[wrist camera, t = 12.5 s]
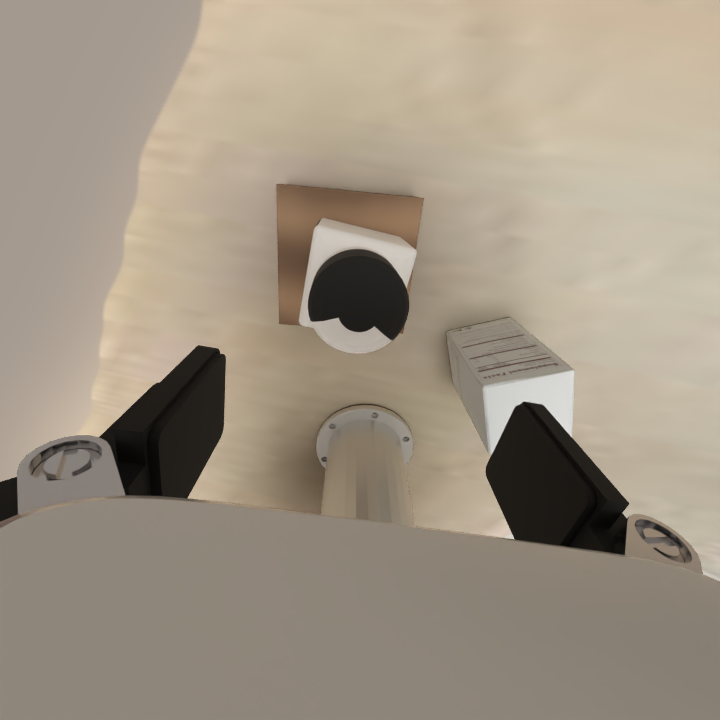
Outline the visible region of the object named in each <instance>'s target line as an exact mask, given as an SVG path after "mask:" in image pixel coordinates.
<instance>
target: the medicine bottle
mask: <svg viewBox="0 0 720 720" xmlns="http://www.w3.org/2000/svg"><path fill="white" fill-rule="evenodd" d="M416 255H417V251H416V249H414V248H413V247H412V246H411V245H409V244H408V243H407V242H406V241H404V240H403V239H402V238H401V237H399V236H395V235H391V234H387V233H383V232H379V231H375V230H371V229H367V228H363V227H359V226H355V225H351V224H347V223H343V222H339V221H335V220H331V219H327V218H321V219H320V220H319V222H318V223H317V225H316V226H315V228H314V232H313V238H312V244H311V250H310V256H309V262H308V268H307V274H306V280H305V286H304V292H303V298H302V304H301V310H300V316H299V323H300V325H302V326H306V327H311V328H314V330H315V331H316V333H317V334H318V335H319V337H320V338H321V339H322V340H323V341H324V342H326V343H327V344H328V345H330V346H331V347H333V348H335V349H337V350H340V351H343V352H347V353H354V354H363V353H369V352H373V351H376V350H378V349H380V348H382V347H384V346H386V345H387V344H389V343H390V342H391V341H393V340H394V339H395V338H396V336H397V335H398V334H399V333H400V331H401V330H402V328H403V326H404V325H405V322H406V319H407V316H408V312H409V297H408V292H407V286H408V282H409V279H410V276H411V272H412V269H413V266H414V262H415V259H416Z"/></svg>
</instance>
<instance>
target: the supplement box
mask: <svg viewBox="0 0 720 720" xmlns="http://www.w3.org/2000/svg"><path fill="white" fill-rule="evenodd" d="M446 336H447V345H448V352H449V359H450V366H451V373H452V379H453V385H454V386H455V388H456V390H457V392H458V394H459V396H460V398H461V400H462V402H463V404H464V406H465V408H466V410H467V412H468V414H469V416H470V418H471V420H472V422H473V424H474V426H475V428H476V430H477V432H478V434H479V436H480V438H481V440H482V442H483V444H484V446H485V447H486V449H487V451H488V453H489V454H492V453H493V451H494V449H495V447H496V445H497V443H498V441H499V439H500V437H501V435H502V433H503V430H504V428H505V426H506V424H507V422H508V420H509V418H510V416H511V414H512V412H513V410H514V408H515V406H517V405H520V404H521V403H522V402H531V403H537V404H542V405H544V406H545V407H546V408H547V410H548V411H549V412H550V413H551V414H552V415H553V416H554V418H555V419H556V420H557V421H558V422H559V423H560V424H561V426H562V427H563V428H564V429H565V430H566V431H567V433H568V434H569V435H570V436H571V437H572V423H573V399H574V376H575V370H574V369H573V368H572V367H570V366H569V365H568V364H567V363H566V362H564V361H563V360H562V359H561V358H560V357H558V356H557V355H556V354H555V353H554V352H552V351H551V350H550V349H549V348H547V347H546V346H545V345H544V344H543V343H541V342H540V341H539V340H538V339H537V338H535V337H534V336H533V335H532V334H530V333H529V332H528V331H527V330H526V329H524V328H523V327H522V326H521V325H519V324H518V323H517V322H516V321H515V320H513V319H512V318H511V317H509V318H504V319H499V320H495V321H490V322H486V323H481V324H477V325H472V326H468V327H463V328H459V329H454V330H450V331H447V332H446Z"/></svg>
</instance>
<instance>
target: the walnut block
mask: <svg viewBox="0 0 720 720" xmlns="http://www.w3.org/2000/svg"><path fill="white" fill-rule="evenodd" d="M423 200H424V198H419V197H411V196H400V195H390V194H380V193H369V192H359V191H348V190H338V189H327V188H317V187H307V186H296V185H285V184H277V232H278V281H279V324H288V325H300V323H299V316H300V310H301V304H302V298H303V292H304V286H305V280H306V274H307V268H308V262H309V256H310V250H311V244H312V238H313V232H314V228H315V226H316V225H317V223H318V222H319V220H320V219H321V218H327V219H331V220H335V221H339V222H343V223H347V224H351V225H355V226H359V227H363V228H367V229H371V230H375V231H379V232H383V233H387V234H391V235H395V236H399V237H401V238H402V239H403V240H404V241H406V242H407V243H408V244H409V245H411V246H412V247H413V248H414V249H416V246H417V239H418V233H419V226H420V219H421V213H422V206H423ZM412 272H413V269H412ZM412 272H411V276H410V279H409V282H408V286H407V292H408V297H409V291H410V285H411V278H412ZM301 326H302V325H301ZM403 330H404V326H403V328H402V330H401V331H400V333H403Z"/></svg>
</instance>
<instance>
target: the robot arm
mask: <svg viewBox="0 0 720 720" xmlns="http://www.w3.org/2000/svg"><path fill="white" fill-rule="evenodd" d="M225 365H226V357H225V355H224V354H220V351H219V349H217V348H211V347H205V346H199V345H198V346H197V347H196V348H195V349H194V350H193V351H192V352H191V353H190V354H189V355H188V356H187V357H186V358H185V359H184V360H183V361H182V362H180V363H179V364H178V365H177V366H176V367H175V368H174V369H173V370H172V371H171V372H170V373H169V374H168V375H167V376H166V377H165V378H164V379H163V380H162V381H161V382H160V383H156V384H154V385H153V386H152V387H151V388H150V389H149V390H148V391H147V392H146V393H145V394H144V395H143V396H142V397H140V398H139V399H138V400H137V401H136V402H135V403H134V404H133V405H132V406H131V407H130V408H129V409H128V410H127V411H126V412H125V413H124V414H123V415H122V416H121V417H120V418H119V419H118V420H117V421H116V422H114V423H113V424H112V425H111V426H110V427H109V428H108V429H107V430H106V431H105V432H104V433H103V434H102V435H101V436H100V437H94V436H90V435H77V436H70V437H64V438H61V439H57V440H54V441H51V442H48V443H46V444H44V445H42V446H40V447H38V448H36V449H35V450H33V451H32V452H31V453H29V454H28V455H26V457H25V458H24V459H23V460H22V461H21V463H20V464H19V467H18V471H17V477H15V478H12V479H9V480H5V481H2V482H0V720H720V582H719V581H717V580H715V579H713V578H710V577H708V576H706V575H703V573H702V567H701V562H700V559H699V557H698V554H697V553H696V552H695V550H694V549H693V547H692V546H691V545H690V544H689V543H688V542H687V541H686V540H685V539H684V538H683V537H682V536H680V535H679V534H678V533H677V532H675V531H674V530H673V529H671V528H670V527H668V526H667V525H665V524H663V523H662V522H660V521H658V520H655V519H653V518H651V517H648V516H645V515H640V514H633V515H631V516H629V517H628V519H627V518H626V517H625V516H624V515H623V514H622V512H623V511H624V510H625V509H626V507H627V506H628V505H629V503H628V502H627V500H626V499H625V498H624V497H623V496H622V495H621V494H620V492H619V491H618V490H617V489H616V488H615V487H614V485H613V484H612V483H611V482H610V481H609V480H608V479H607V477H606V476H605V475H604V474H603V473H602V472H601V471H600V469H599V468H598V467H597V466H596V465H595V464H594V462H593V461H592V460H591V459H590V458H589V457H588V456H587V454H586V453H585V452H584V451H583V450H582V449H581V448H580V446H579V445H578V444H577V443H576V442H575V441H574V439H573V438H572V437H571V436H570V435H569V434H568V433H567V431H566V430H565V429H564V428H563V427H562V426H561V424H560V423H559V422H558V421H557V420H556V419H555V418H554V416H553V415H552V414H551V413H550V412H549V411H548V410H547V408H546V407H545V406H544V405H542V404H537V403H531V402H522V403H521V404H520V405H517V406H515V408H514V410H513V412H512V414H511V416H510V418H509V420H508V422H507V424H506V426H505V428H504V430H503V433H502V435H501V437H500V439H499V441H498V443H497V445H496V447H495V449H494V451H493V453H492V455H491V458H490V460H489V462H488V464H487V466H486V476H487V479H488V481H489V483H490V486H491V488H492V490H493V492H494V494H495V497H496V499H497V501H498V503H499V505H500V508H501V510H502V512H503V514H504V516H505V519H506V521H507V523H508V525H509V528H510V530H511V532H512V534H513V536H514V539H515V540H514V539H506V538H499V537H492V536H485V535H477V534H470V533H462V532H455V531H447V530H440V529H432V528H424V527H417V526H415V521H414V516H413V510H412V504H411V498H410V493H409V487H408V481H407V475H406V469H405V466H406V465H407V464H408V462H409V460H410V458H411V456H412V452H413V439H412V435H411V432H410V429H409V427H408V426H407V424H406V423H405V421H404V420H403V419H402V418H400V417H399V416H398V415H397V414H395V413H394V412H392V411H390V410H388V409H385V408H383V407H378V406H374V405H358V406H352V407H348V408H345V409H342V410H340V411H338V412H336V413H335V414H333V415H332V416H330V417H329V418H328V419H327V420H326V421H325V422H324V424H323V425H322V427H321V428H320V430H319V433H318V436H317V442H316V452H317V456H318V459H319V461H320V463H321V465H322V466H323V467H324V468H325V469H326V471H325V480H324V489H323V498H322V507H321V514H315V513H307V512H299V511H291V510H283V509H275V508H267V507H259V506H251V505H242V504H234V503H226V502H218V501H209V500H198V499H187V498H188V496H189V494H190V492H191V491H192V489H193V487H194V485H195V483H196V481H197V480H198V478H199V476H200V474H201V472H202V470H203V469H204V467H205V465H206V463H207V461H208V460H209V458H210V456H211V454H212V452H213V450H214V449H215V447H216V445H217V443H218V441H219V440H220V438H221V435H222V432H223V427H224V399H225Z"/></svg>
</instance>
